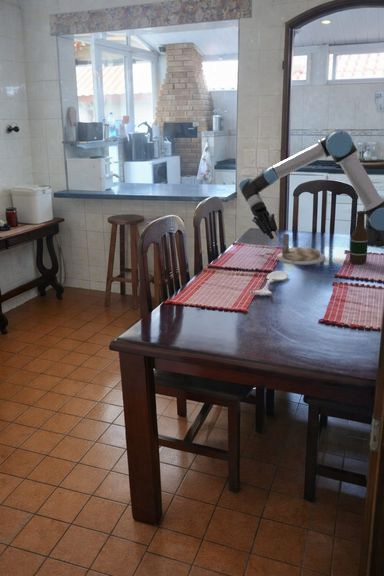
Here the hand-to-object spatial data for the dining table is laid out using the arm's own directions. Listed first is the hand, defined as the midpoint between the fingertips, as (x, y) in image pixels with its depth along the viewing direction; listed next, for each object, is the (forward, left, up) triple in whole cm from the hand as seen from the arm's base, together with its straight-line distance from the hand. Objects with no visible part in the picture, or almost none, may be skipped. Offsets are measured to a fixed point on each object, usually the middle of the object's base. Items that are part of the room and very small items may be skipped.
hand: (277, 243), depth 254 cm
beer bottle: (-17, +35, -7) cm, 39 cm away
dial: (-5, +11, -5) cm, 13 cm away
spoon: (+38, +29, -7) cm, 48 cm away
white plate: (-5, +11, -7) cm, 14 cm away
